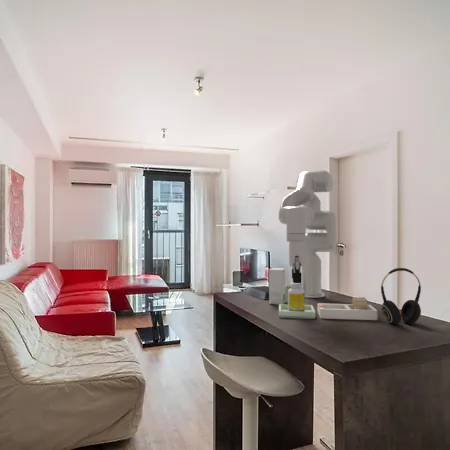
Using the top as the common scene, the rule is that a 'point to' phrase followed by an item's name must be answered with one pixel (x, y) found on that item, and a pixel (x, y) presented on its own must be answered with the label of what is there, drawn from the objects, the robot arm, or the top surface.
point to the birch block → (360, 303)
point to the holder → (346, 312)
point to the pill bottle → (296, 297)
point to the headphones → (409, 309)
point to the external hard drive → (259, 292)
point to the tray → (296, 312)
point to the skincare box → (277, 286)
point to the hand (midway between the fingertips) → (296, 280)
